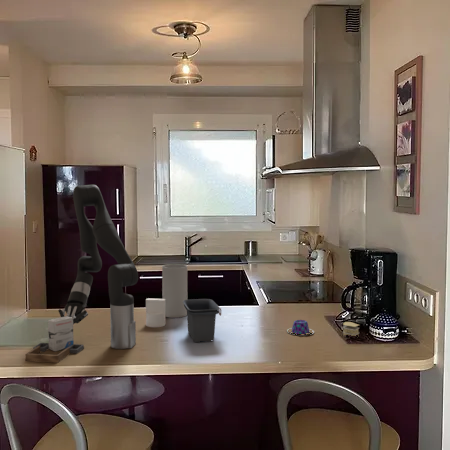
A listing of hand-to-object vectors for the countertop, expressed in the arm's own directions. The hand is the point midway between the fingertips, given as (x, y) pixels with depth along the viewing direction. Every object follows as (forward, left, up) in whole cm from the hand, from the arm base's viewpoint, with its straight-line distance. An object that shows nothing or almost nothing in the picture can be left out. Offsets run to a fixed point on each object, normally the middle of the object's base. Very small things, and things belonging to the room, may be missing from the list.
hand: (66, 331), depth 196 cm
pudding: (-95, -30, -6) cm, 100 cm away
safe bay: (0, +15, -5) cm, 16 cm away
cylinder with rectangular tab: (-28, -33, -5) cm, 44 cm away
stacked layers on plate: (-116, -28, -6) cm, 120 cm away
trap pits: (0, +7, -5) cm, 9 cm away
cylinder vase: (-33, -51, -5) cm, 61 cm away
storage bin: (-53, -18, -5) cm, 56 cm away
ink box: (0, +5, -5) cm, 7 cm away
